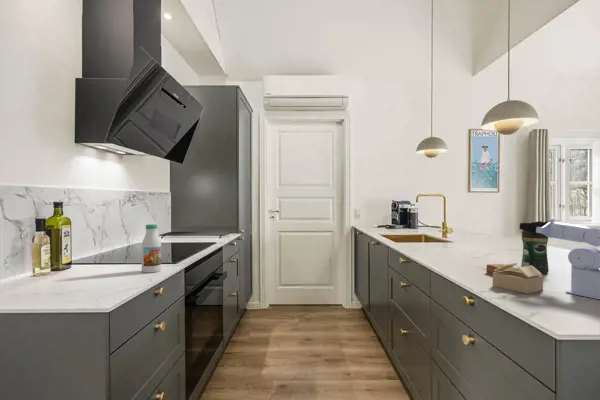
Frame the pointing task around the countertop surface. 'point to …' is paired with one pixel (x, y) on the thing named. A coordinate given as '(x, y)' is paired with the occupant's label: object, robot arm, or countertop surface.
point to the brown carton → (517, 281)
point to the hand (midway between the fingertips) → (525, 225)
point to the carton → (494, 266)
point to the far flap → (505, 266)
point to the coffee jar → (535, 251)
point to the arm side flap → (529, 271)
